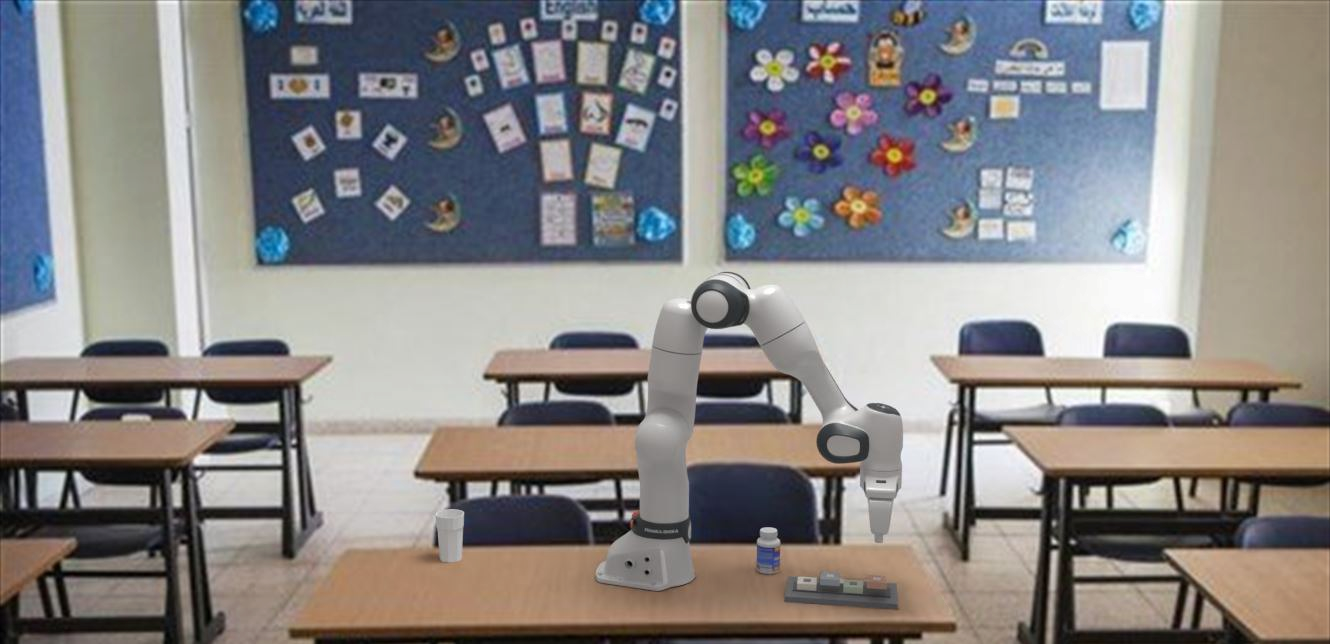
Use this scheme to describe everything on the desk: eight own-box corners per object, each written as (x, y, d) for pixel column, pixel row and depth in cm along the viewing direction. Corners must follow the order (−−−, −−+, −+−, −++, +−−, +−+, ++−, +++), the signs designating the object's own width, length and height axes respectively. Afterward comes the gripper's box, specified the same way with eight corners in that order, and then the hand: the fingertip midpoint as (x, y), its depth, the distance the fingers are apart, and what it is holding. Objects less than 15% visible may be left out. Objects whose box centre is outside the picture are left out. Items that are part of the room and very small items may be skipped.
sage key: (843, 592, 270) (843, 586, 270) (843, 585, 274) (843, 579, 274) (862, 593, 269) (863, 587, 269) (862, 586, 273) (863, 580, 273)
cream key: (796, 589, 272) (797, 582, 271) (798, 582, 276) (798, 576, 275) (816, 590, 271) (816, 584, 271) (817, 583, 275) (817, 577, 275)
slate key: (820, 584, 270) (820, 578, 270) (820, 577, 275) (821, 571, 274) (839, 586, 270) (839, 579, 270) (840, 579, 274) (840, 572, 274)
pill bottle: (778, 575, 283) (779, 534, 282) (754, 573, 285) (755, 532, 283) (781, 567, 289) (782, 526, 287) (757, 565, 290) (758, 525, 288)
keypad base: (784, 601, 268) (784, 594, 268) (788, 581, 280) (788, 574, 280) (897, 609, 264) (897, 602, 264) (896, 588, 276) (896, 582, 276)
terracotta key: (866, 588, 269) (867, 581, 269) (866, 581, 273) (867, 574, 273) (886, 589, 268) (886, 582, 268) (886, 582, 272) (886, 575, 272)
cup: (462, 563, 289) (461, 518, 287) (434, 563, 289) (432, 518, 288) (467, 553, 296) (466, 509, 294) (439, 553, 296) (438, 509, 294)
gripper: (866, 465, 277) (864, 524, 280) (865, 492, 257) (863, 556, 260) (894, 466, 276) (892, 526, 279) (896, 493, 256) (894, 557, 259)
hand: (878, 541), depth 269 cm, fingers closed
